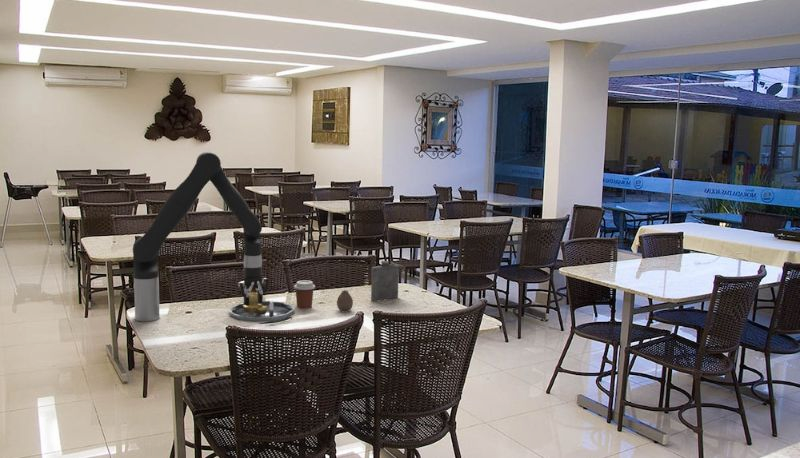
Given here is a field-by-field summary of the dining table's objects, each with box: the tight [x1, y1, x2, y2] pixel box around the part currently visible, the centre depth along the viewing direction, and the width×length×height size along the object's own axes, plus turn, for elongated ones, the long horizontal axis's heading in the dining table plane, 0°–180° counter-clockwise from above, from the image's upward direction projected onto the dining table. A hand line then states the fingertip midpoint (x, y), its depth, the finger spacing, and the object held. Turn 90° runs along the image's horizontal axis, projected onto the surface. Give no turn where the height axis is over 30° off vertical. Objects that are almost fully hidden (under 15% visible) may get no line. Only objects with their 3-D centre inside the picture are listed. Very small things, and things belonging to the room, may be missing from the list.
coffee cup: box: [293, 279, 316, 309], centre depth 284 cm, size 9×9×12 cm
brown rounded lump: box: [336, 289, 354, 312], centre depth 283 cm, size 7×7×9 cm
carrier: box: [229, 300, 295, 325], centre depth 273 cm, size 26×26×7 cm
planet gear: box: [243, 293, 263, 311], centre depth 278 cm, size 8×8×6 cm
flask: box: [370, 260, 400, 302], centre depth 304 cm, size 4×14×18 cm, turn 124°
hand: (253, 303), depth 278 cm, fingers open, 5 cm apart
